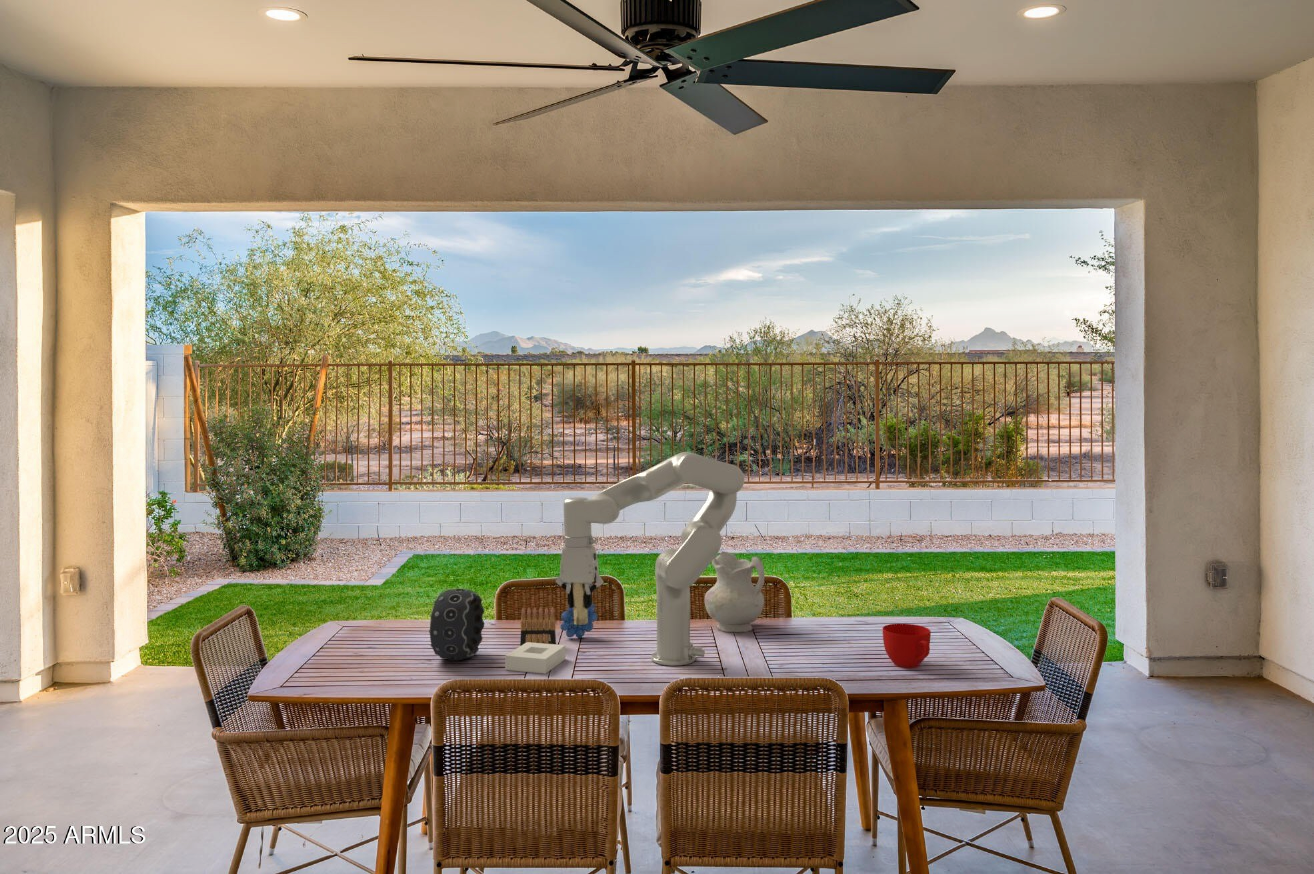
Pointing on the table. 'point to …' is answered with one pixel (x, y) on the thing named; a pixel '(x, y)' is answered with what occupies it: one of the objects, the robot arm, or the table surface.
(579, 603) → the gold cylindrical peg
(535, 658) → the white square socket block
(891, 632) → the ceramic cup
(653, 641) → the table surface
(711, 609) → the ceramic pitcher
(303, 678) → the table surface
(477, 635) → the dark grey toy tire
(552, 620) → the ammunition clip
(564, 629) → the blue lumpy cluster
